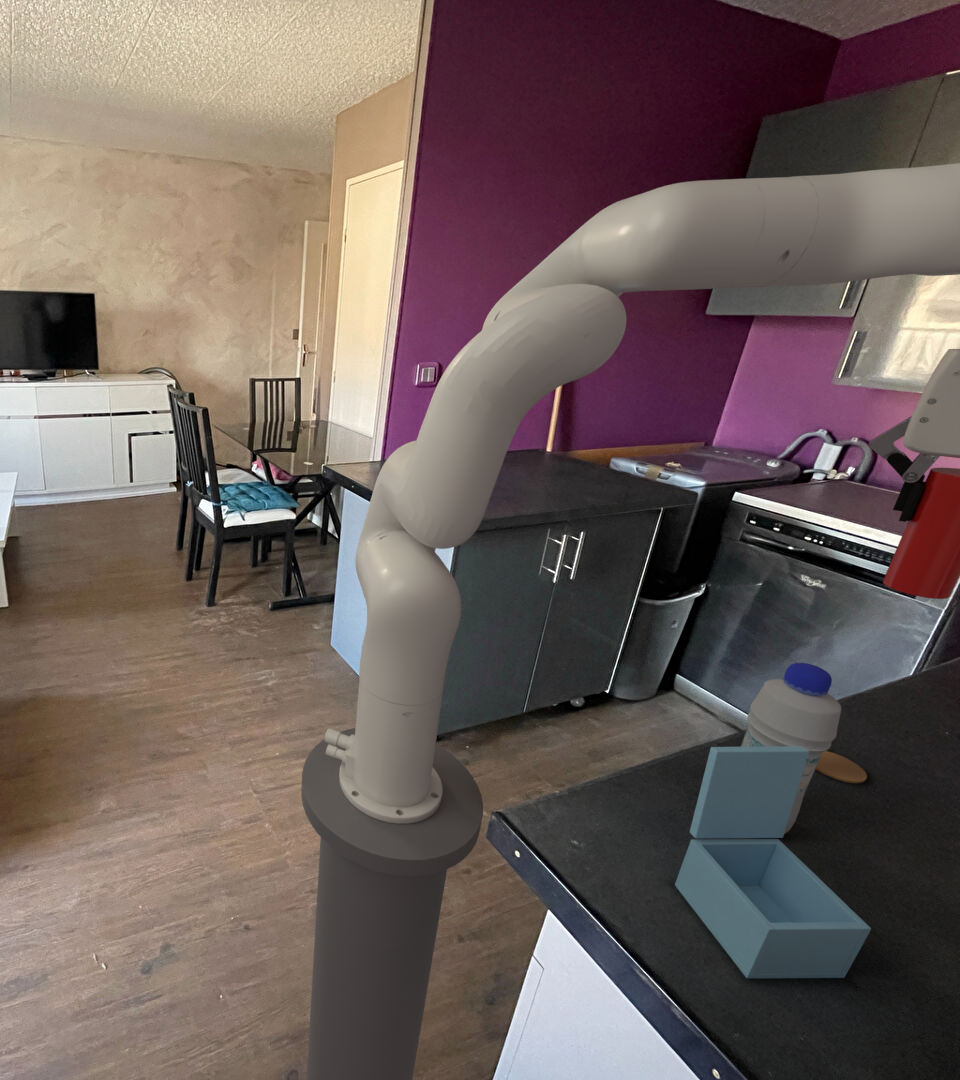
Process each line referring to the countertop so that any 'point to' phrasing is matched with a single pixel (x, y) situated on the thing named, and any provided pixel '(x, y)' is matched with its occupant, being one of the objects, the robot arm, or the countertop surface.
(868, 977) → the countertop surface
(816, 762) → the bottle
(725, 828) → the cooler lid
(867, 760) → the countertop surface
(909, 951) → the countertop surface
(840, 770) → the coaster
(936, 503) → the can
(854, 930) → the box
